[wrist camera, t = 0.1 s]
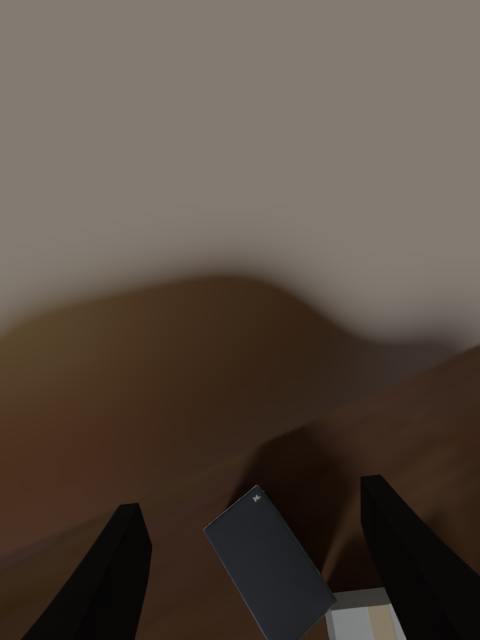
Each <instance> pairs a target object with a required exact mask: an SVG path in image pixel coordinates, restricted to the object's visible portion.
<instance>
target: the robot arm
mask: <svg viewBox="0 0 480 640" xmlns="http://www.w3.org/2000/svg"><path fill="white" fill-rule="evenodd" d="M361 525H362V528H363V532H364V535H365V538H366V541H367V545H368V548H369V551H370V554H371V557H372V560H373V562H374V564H375V567H376V569H377V572H378V574H379V576H380V579H381V581H382V583H383V586H384V588H385V590H386V593H387V595H388V598H389V600H390V602H391V605H392V607H393V609H394V612H395V614H396V616H397V619H398V621H399V623H400V626H401V628H402V630H403V633H404V635H405V637H406V640H480V576H479V575H478V574H477V573H476V572H475V571H474V570H473V569H472V568H470V567H469V566H468V565H467V564H466V563H465V562H464V561H463V560H462V559H461V558H460V557H459V556H458V555H457V554H455V553H454V552H453V551H452V550H451V549H450V548H449V547H448V546H447V545H446V544H445V543H444V542H443V541H442V540H441V539H440V538H439V537H438V536H437V535H436V534H435V533H434V532H433V531H432V530H431V529H430V528H429V527H428V526H427V525H426V524H425V523H424V522H423V521H422V520H421V519H420V518H419V517H418V516H417V515H416V514H415V512H414V511H413V510H412V509H411V508H410V507H409V506H408V505H407V504H406V503H405V502H404V500H403V499H402V498H401V497H400V496H399V495H398V494H397V493H396V492H395V490H394V489H393V488H392V487H391V486H390V485H389V483H388V482H387V481H386V480H385V479H384V478H383V477H382V476H381V475H371V476H363V477H361ZM151 554H152V544H151V541H150V538H149V534H148V531H147V528H146V525H145V522H144V519H143V515H142V512H141V509H140V506H139V503H132V504H124V505H120V506H119V507H118V508H117V510H116V511H115V513H114V514H113V516H112V517H111V519H110V520H109V522H108V523H107V525H106V526H105V528H104V529H103V531H102V532H101V534H100V535H99V537H98V538H97V539H96V541H95V542H94V544H93V545H92V547H91V548H90V550H89V551H88V553H87V554H86V555H85V557H84V558H83V560H82V561H81V563H80V564H79V565H78V567H77V568H76V570H75V571H74V572H73V574H72V575H71V577H70V578H69V579H68V581H67V582H66V583H65V585H64V586H63V587H62V589H61V590H60V591H59V593H58V594H57V595H56V596H55V598H54V599H53V600H52V602H51V603H50V604H49V606H48V607H47V608H46V610H45V611H44V612H43V613H42V615H41V616H40V617H39V618H38V620H37V621H36V622H35V623H34V624H33V626H32V627H31V628H30V629H29V631H28V632H27V633H26V634H25V635H24V636H23V638H22V639H21V640H135V635H136V631H137V627H138V623H139V619H140V614H141V610H142V606H143V601H144V597H145V593H146V588H147V584H148V577H149V570H150V562H151Z"/></svg>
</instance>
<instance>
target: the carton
mask: <svg viewBox="0 0 480 640" xmlns="http://www.w3.org/2000/svg"><path fill="white" fill-rule="evenodd" d="M333 594H334V596H335V597H336V599H337V602H336V604H335V605H334V606H333V607H332V608H331V609H330V610H329V611H328V612H327V613H326V614H325V616H326V622H327V628H328V634H329V639H330V640H406V637H405V635H404V633H403V630H402V628H401V626H400V623H399V621H398V619H397V616H396V614H395V612H394V609H393V607H392V605H391V602H390V600H389V598H388V595H387V593H386V590H385V588H384V587H382V588H373V589H364V590H355V591H346V592H338V593H333Z"/></svg>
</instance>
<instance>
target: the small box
mask: <svg viewBox="0 0 480 640" xmlns="http://www.w3.org/2000/svg"><path fill="white" fill-rule="evenodd" d="M204 533H205V534H206V536H207V538H208V539H209V541H210V543H211V545H212V546H213V548H214V550H215V551H216V553H217V555H218V557H219V558H220V560H221V562H222V563H223V565H224V567H225V568H226V570H227V572H228V574H229V575H230V577H231V579H232V580H233V582H234V584H235V586H236V587H237V589H238V591H239V592H240V594H241V596H242V598H243V599H244V601H245V603H246V605H247V606H248V608H249V610H250V611H251V613H252V615H253V617H254V618H255V620H256V622H257V624H258V625H259V627H260V629H261V631H262V632H263V634H264V636H265V637H266V639H267V640H299V639H300V638H301V637H302V636H303V635H304V634H305V633H306V632H307V631H308V630H309V629H310V628H311V627H312V626H313V625H315V624H316V623H317V622H318V621H319V620H320V619H321V618H322V617H323V616H324V615H325V614H326V613H327V612H328V611H329V610H330V609H331V608H332V607H333V606H334V605H335V604H336V602H337V599H336V597H335V596H334V594H333V593H332V591H331V590H330V588H329V587H328V585H327V584H326V583H325V581H324V579H323V577H322V575H321V573H320V571H319V570H318V569H317V567H316V566H315V564H314V563H313V561H312V560H311V558H310V557H309V555H308V554H307V552H306V551H305V549H304V548H303V546H302V545H301V543H300V542H299V540H298V539H297V537H296V536H295V534H294V533H293V531H292V530H291V529H290V527H289V526H288V524H287V523H286V521H285V519H284V518H283V516H282V515H281V513H280V512H279V511H278V509H277V507H276V506H275V505H274V504H273V502H272V501H271V500H270V498H269V497H268V495H267V494H266V492H265V491H264V490H263V488H262V487H260V486H259V485H255V486H254V487H253V488H252V489H251V490H249V491H248V492H247V493H246V494H244V495H243V496H242V497H241V498H240V499H238V500H237V501H236V502H235V503H234V504H232V505H231V506H230V507H229V508H227V509H226V510H225V511H224V512H222V513H221V514H220V515H219V516H218V517H217V518H215V519H214V520H213V521H212V522H210V523H209V524H208V525H207V526H205V528H204Z"/></svg>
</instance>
